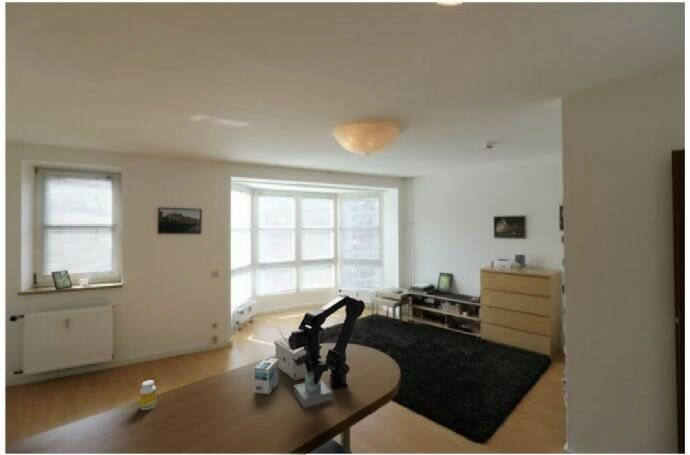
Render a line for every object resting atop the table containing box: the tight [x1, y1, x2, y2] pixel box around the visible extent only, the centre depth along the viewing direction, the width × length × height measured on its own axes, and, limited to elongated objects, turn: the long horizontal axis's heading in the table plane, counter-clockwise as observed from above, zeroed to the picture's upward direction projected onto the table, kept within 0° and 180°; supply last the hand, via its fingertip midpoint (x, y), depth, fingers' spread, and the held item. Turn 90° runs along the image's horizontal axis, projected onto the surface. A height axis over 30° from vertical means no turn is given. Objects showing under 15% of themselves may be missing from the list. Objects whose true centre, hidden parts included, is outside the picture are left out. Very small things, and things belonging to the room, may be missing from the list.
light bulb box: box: [254, 357, 279, 395], centre depth 142 cm, size 11×7×11 cm, turn 168°
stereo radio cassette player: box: [273, 327, 307, 381], centre depth 156 cm, size 21×8×20 cm, turn 40°
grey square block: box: [293, 379, 333, 409], centre depth 135 cm, size 12×12×4 cm
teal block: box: [304, 372, 322, 393], centre depth 135 cm, size 5×5×6 cm
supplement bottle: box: [139, 379, 157, 411], centre depth 127 cm, size 5×5×10 cm
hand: (312, 380), depth 135 cm, fingers open, 7 cm apart
